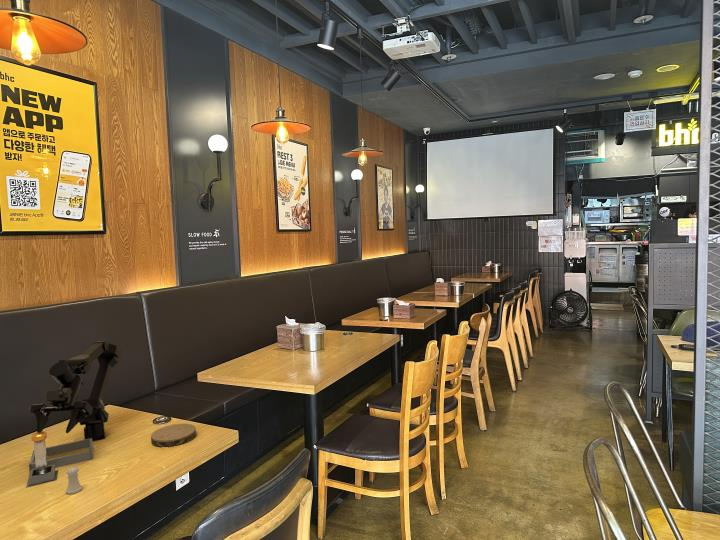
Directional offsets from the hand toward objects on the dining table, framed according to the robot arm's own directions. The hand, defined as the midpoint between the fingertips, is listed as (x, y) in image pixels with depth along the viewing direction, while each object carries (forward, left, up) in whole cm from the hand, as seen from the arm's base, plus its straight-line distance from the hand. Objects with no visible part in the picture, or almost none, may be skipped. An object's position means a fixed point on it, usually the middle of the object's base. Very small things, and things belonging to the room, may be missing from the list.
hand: (52, 433), depth 157 cm
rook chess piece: (-6, +21, -13) cm, 25 cm away
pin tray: (-2, -7, -13) cm, 15 cm away
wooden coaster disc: (-38, -5, -13) cm, 40 cm away
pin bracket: (+3, +6, -13) cm, 15 cm away
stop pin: (+3, +6, -12) cm, 14 cm away
